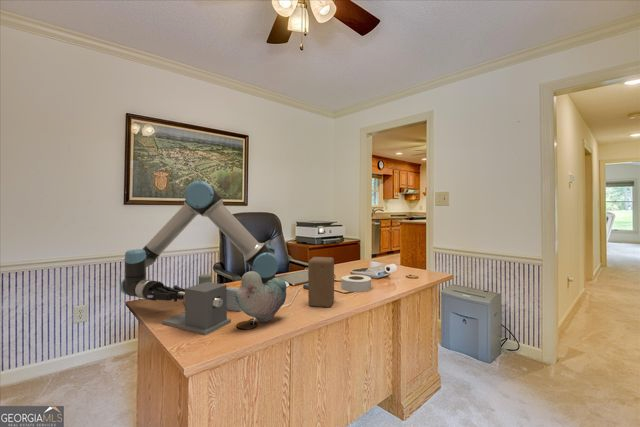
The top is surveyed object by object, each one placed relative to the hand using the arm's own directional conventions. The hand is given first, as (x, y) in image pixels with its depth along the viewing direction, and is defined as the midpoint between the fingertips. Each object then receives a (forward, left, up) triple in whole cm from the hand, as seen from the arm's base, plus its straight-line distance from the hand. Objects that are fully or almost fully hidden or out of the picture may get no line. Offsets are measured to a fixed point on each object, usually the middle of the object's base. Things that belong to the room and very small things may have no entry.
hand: (191, 297), depth 111 cm
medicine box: (-5, +18, -9) cm, 21 cm away
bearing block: (+2, +1, -9) cm, 9 cm away
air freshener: (-31, +12, -9) cm, 34 cm away
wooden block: (+11, +52, -9) cm, 54 cm away
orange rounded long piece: (+6, +4, -4) cm, 8 cm away
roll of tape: (0, +81, -10) cm, 82 cm away
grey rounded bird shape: (+16, +22, -9) cm, 28 cm away
